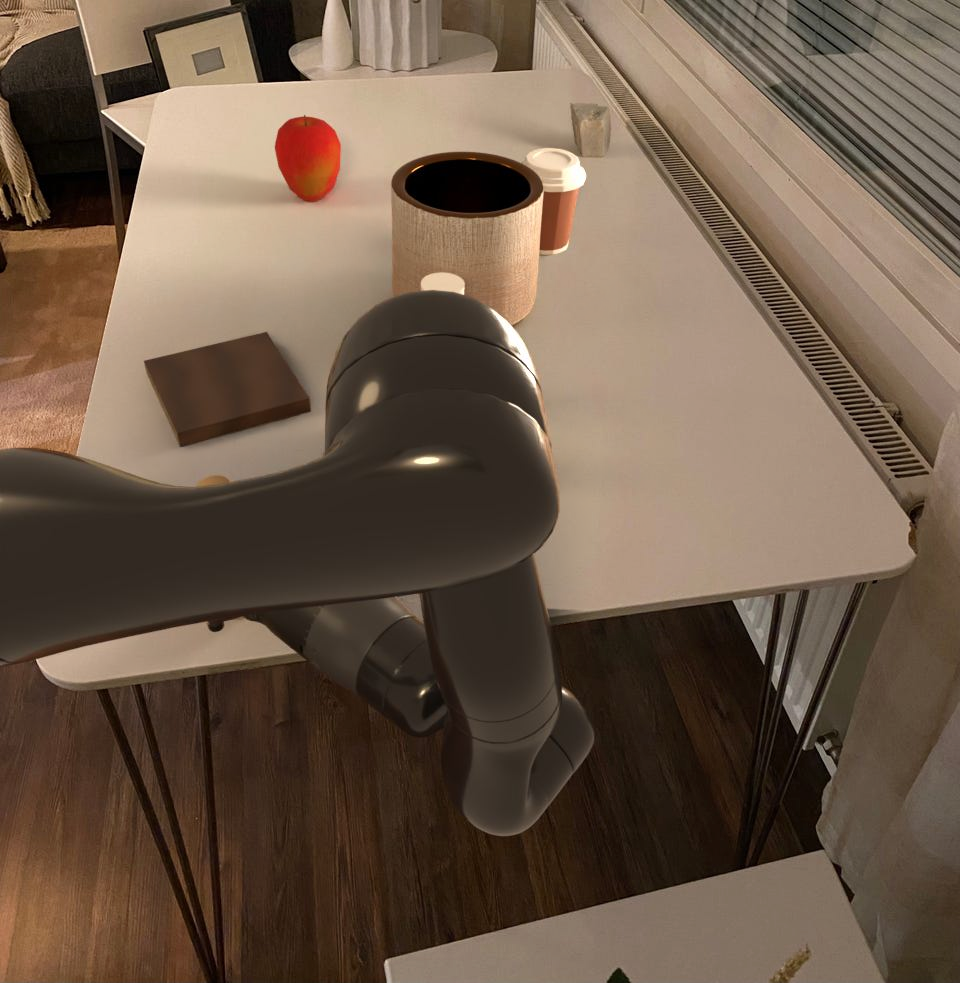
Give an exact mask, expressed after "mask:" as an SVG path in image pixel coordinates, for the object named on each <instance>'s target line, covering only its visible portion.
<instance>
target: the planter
mask: <svg viewBox="0 0 960 983" xmlns="http://www.w3.org/2000/svg"><path fill="white" fill-rule="evenodd" d="M390 192H391V193H390V197H391V199H390V200H391V257H392V258H391V266H392V267H391V272H392V273H391V282H392V284H391V285H392V295H393V296H392V297H394V296H397V295H400V294H404V293H408V292H414V291H421V281H422V279H423V278H424V277H425V276H427V275H430V274H433V273H451V274H454V275H457V276H459V277H460V278H462V279H463V281H464V284H465V285H464V295H466V296H470V297H473V298H475V299H477V300H479V301H481V302H483V303H485V304H487V305H489V306H491V307H492V308H493V309H494V310H496V311H497V312H498V313H499V314H501V315H502V316H503V317H504V318H506V319H507V320H508V322H509V323H510V324H511V325H512V326H513V327H514V325H516V324H518V323H520V322H521V321H523V320H524V319H525V318H526V317H527V316H529V314H530V313H531V312H532V310H533V308H534V306H535V303H536V298H537V291H538V290H537V289H538V277H539V276H538V275H539V260H540V254H539V247H540V232H541V219H542V206H543V193H544V186H543V182H542V180H541V178H540V177H539V175H538V174H537V173H536V172H535V171H533V170H532V169H531V168H529V167H528V166H526V165H524V164H522V162H520V161H517V160H515V159H512V158H509V157H506V156H502V155H498V154H495V153H487V152H478V151H447V152H446V151H445V152H437V153H432V154H427V155H424V156H419V157H418V158H415V159H413V160H410V161H408V162H406V163H404V164H403V165H402V166H400V167H399V168H398V169H396V171H395V172H394V174H393V175H392V178H391V182H390Z"/></svg>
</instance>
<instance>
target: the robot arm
mask: <svg viewBox="0 0 960 983" xmlns="http://www.w3.org/2000/svg"><path fill="white" fill-rule="evenodd" d="M324 411H325V412H324V413H325V415H324V419H325V420H324V452H323V453H324V455H323V456H321V457H318V458H316V459H314V460H311V461H309V462H307V463H304V464H301V465H298V466H295V467H291V468H288V469H284V470H280V471H277V472H273V473H269V474H265V475H261V476H255V477H249V478H245V479H239V480H233V481H230V482H227V483H222V484H217V485H208V486H197V485H196V486H185V485H184V486H183V485H173V484H166V483H161V482H158V481H155V480H152V479H147V478H144V477H141V476H139V475H137V474H133V473H130V472H127V471H124V470H122V469H119V468H116V467H113V466H110V465H107V464H105V463H101V462H99V461H95V460H93V459H90V458H85V457H82V456H79V455H75V454H71V453H68V452H64V451H59V450H54V449H47V448H38V447H9V448H3V449H0V668H5V667H9V666H13V665H18V664H23V663H26V662H28V663H29V662H32V661H36V660H39V659H42V658H46V657H50V656H53V655H57V654H61V653H64V652H69V651H72V650H76V649H80V648H84V647H88V646H93V645H97V644H102V643H107V642H112V641H116V640H120V639H121V640H122V639H126V638H130V637H131V638H132V637H135V636H140V635H145V634H146V635H147V634H149V633H155V632H160V631H164V630H169V629H173V628H179V627H184V626H185V627H186V626H191V625H197V624H201V623H206V625H207V629H208V631H210V632H212V633H218V632H220V631H222V630H223V629H224V628H225V622H227V621H228V622H229V621H231V620H236V619H239V618H238V617H241V618H244V619H246V620H247V621H250V622H255V623H259V624H260V625H261V624H262V625H263V626H265V627H266V629H267V630H269V631H270V633H272V634H273V635H274V636H275V637H276V638H277V639H279V640H280V641H281V642H282V643H284V644H285V645H287V647H289V648H290V649H292V650H293V651H294V652H296V654H298V655H299V656H301V657H302V658H303V659H304V660H305V661H307V662H308V663H309V664H311V666H312V667H313V668H314V669H315V670H316V671H317V672H318V673H320V674H324V675H325V676H326V677H327V678H329V679H330V680H331V681H332V682H333V683H335V684H336V685H338V686H340V687H341V688H343V689H345V690H347V691H348V692H350V693H352V694H354V695H355V696H357V697H358V698H360V699H361V700H362V701H363V702H364V703H366V705H368V706H369V707H371V708H372V709H374V710H375V711H376V712H377V713H379V714H380V715H381V716H382V717H384V718H385V719H386V720H388V721H389V722H390V723H392V725H394V726H395V727H397V728H398V729H399V730H401V731H402V732H403V733H406V734H407V735H409V736H411V737H414V738H420V739H421V738H427V737H430V736H432V735H434V734H436V733H438V732H440V731H441V730H443V731H442V732H443V733H442V739H441V748H440V768H441V774H442V775H441V776H442V779H443V784H444V786H445V789H446V791H447V793H448V796H449V798H450V800H451V802H452V803H453V805H454V806H455V808H456V809H457V811H458V812H459V813H460V814H461V816H462V817H463V818H464V819H466V821H467V822H469V823H470V824H471V825H472V826H474V827H475V828H477V829H478V830H480V831H482V832H485V833H486V834H489V835H492V836H498V837H510V836H515V835H519V834H521V833H524V832H525V831H527V830H528V829H530V828H531V827H532V826H533V825H534V824H535V823H536V822H537V821H538V820H539V819H540V818H541V816H542V815H543V814H544V812H545V811H546V810H547V809H548V807H549V806H550V805H551V803H552V802H553V801H554V799H556V797H557V795H558V794H559V793H560V792H561V790H562V789H563V788H564V786H565V785H566V784H567V782H568V781H569V780H570V779H571V777H572V776H573V775H574V774H575V772H576V771H577V770H578V769H579V768H580V767H581V765H582V764H583V763H584V761H586V760H585V759H586V758H587V757H588V756H589V754H590V753H591V750H592V749H593V747H594V744H595V741H596V740H595V738H596V732H595V725H594V723H593V722H594V721H593V719H592V717H591V715H590V713H589V711H588V708H586V706H585V705H584V703H583V702H582V701H581V700H580V698H579V697H578V696H577V695H576V694H575V693H573V692H571V691H570V690H569V689H568V688H566V686H564V685H563V684H562V677H561V676H562V675H561V671H560V662H559V657H558V652H557V647H556V640H555V637H554V631H553V628H552V624H551V620H550V616H549V611H548V607H547V602H546V599H545V596H544V595H545V594H544V591H543V587H542V582H541V578H540V574H539V569H538V566H537V561H536V557H535V554H536V553H537V552H538V551H539V550H540V549H541V548H542V547H543V546H544V545H545V544H546V542H548V539H549V538H550V537H551V535H552V534H553V533H554V531H555V528H556V526H557V522H558V520H559V517H560V511H561V510H560V509H561V508H560V505H561V504H560V503H561V502H560V500H561V499H560V485H559V479H558V475H557V469H556V464H555V456H554V453H553V448H552V447H553V446H552V441H551V434H550V429H549V425H548V424H549V423H548V419H547V414H546V408H545V402H544V395H543V391H542V386H541V382H540V379H539V375H538V370H537V368H536V364H535V362H534V359H533V357H532V354H531V353H530V350H528V347H527V345H526V343H525V341H524V340H523V338H522V336H521V335H520V334H519V332H518V331H517V330H516V329H515V327H514V325H513V326H512V325H511V324H510V323H509V322H508V320H507V319H506V318H504V317H503V316H502V315H501V314H499V313H498V312H497V311H496V310H494V309H493V308H492V307H491V306H489V305H487V304H485V303H483V302H481V301H479V300H477V299H475V298H473V297H470V296H466V295H463V294H459V293H456V292H450V291H439V290H426V291H414V292H408V293H404V294H400V295H397V296H391V297H389V298H387V299H385V300H383V301H381V302H379V303H376V304H374V305H373V306H372V307H371V308H370V309H368V310H366V311H365V312H364V313H363V314H361V315H360V316H359V317H358V318H357V319H356V320H355V322H354V323H353V324H352V325H351V326H350V327H349V328H348V330H346V332H345V334H344V336H343V338H341V340H340V343H339V345H338V346H337V348H336V351H335V353H334V357H333V360H332V364H331V367H330V370H329V374H328V377H327V383H326V392H325V407H324ZM412 595H419V600H420V601H419V602H420V608H421V613H422V619H420V617H418V616H417V615H416V614H415V613H413V612H412V611H411V610H410V609H409V608H408V607H407V606H406V605H405V604H404V603H403V602H401V601H400V600H399V599H398V597H405V596H412ZM242 616H244V617H242ZM235 618H236V619H235Z"/></svg>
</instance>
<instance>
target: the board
mask: <svg viewBox="0 0 960 983" xmlns="http://www.w3.org/2000/svg"><path fill="white" fill-rule="evenodd" d="M143 365H144V369H145V373H146V375H147V378H148V380H149V382H150V384H151V386H152V388H153V391H154V394H155V395H156V398H157V400H158V401H159V404H160V406H161V408H162V411H163V413H164V415H165V417H166V419H167V422H168V424H169V426H170V428H171V430H172V432H173V434H174V437H175V438H176V442H177V444H178V446H179V447H185V446H188V445H193V444H196V443H200V442H205V441H207V440H211V439H214V438H218V437H222V436H226V435H229V434H233V433H236V432H240V431H244V430H247V429H251V428H255V427H259V426H262V425H265V424H269V423H270V424H271V423H273V422H277V421H280V420H285V419H288V418H291V417H295V416H299V415H302V414H305V413H309V412H311V411H312V410H311V408H312V407H311V400H310V399H311V398H310V396H309V395H308V393H307V392H306V390H305V389H304V387H303V386H302V384H301V383H300V381H299V380H298V378H297V376H296V375H295V373H294V371H293V370H292V369H291V367H290V365H289V364H288V362H287V361H286V359H285V358H284V356H283V355H282V353H281V351H280V350H279V349H278V347H277V345H276V343H275V342H274V341H273V339H272V337H271V336H270V334H269V332H268V331H263V332H259V333H255V334H251V335H246V336H242V337H239V338H233V339H230V340H226V341H221V342H217V343H213V344H209V345H208V344H207V345H204V346H200V347H195V348H192V349H191V348H190V349H188V350H183V351H179V352H175V353H170V354H166V355H162V356H158V357H154V358H149V359H145V360H143Z"/></svg>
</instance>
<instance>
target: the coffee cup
mask: <svg viewBox="0 0 960 983" xmlns="http://www.w3.org/2000/svg"><path fill="white" fill-rule="evenodd" d="M521 163H522V164H524V165H526V166H528V167H529V168H531V169H532V170H533V171H535V172H536V173H537V174H538V175H539V177H540V178H541V180H542V182H543V186H544V193H543V206H542V219H541V232H540V247H539V255H541V256H554V255H557V254H561V253H563V252H565V251H566V250H567V248H568V246H569V241H570V236H571V231H572V226H573V221H574V215H575V210H576V205H577V200H578V195H579V190H580V187H582V186H584V183H585V182H586V179H587V174H586V173H587V172H586V171H585V169H584V167H583V166H581V164H580V160H579V157H578V156H577V155H575V154H574V153H572V152H571V151H568V150H566V149H563V148H556V147H555V148H554V147H544V148H543V147H542V148H536V149H534V150H531V151H530V152H528V153H527V154H526V155H525V157H524V160H523V161H522V162H521Z"/></svg>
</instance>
